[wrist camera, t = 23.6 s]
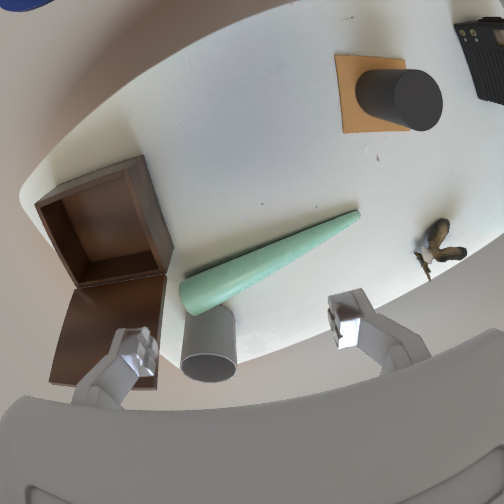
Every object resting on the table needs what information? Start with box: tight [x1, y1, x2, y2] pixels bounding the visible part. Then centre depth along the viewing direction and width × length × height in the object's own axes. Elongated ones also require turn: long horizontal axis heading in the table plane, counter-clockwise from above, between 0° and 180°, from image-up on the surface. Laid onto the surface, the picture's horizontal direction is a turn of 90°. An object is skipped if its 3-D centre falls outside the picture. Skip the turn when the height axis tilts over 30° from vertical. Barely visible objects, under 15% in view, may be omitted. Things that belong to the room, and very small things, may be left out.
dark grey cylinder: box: [355, 69, 443, 131], centre depth 23 cm, size 6×6×9 cm
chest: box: [34, 155, 174, 289], centre depth 31 cm, size 14×15×6 cm
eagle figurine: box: [414, 219, 467, 281], centre depth 38 cm, size 8×7×9 cm
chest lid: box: [49, 274, 167, 390], centre depth 27 cm, size 14×15×1 cm
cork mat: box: [334, 55, 410, 133], centre depth 27 cm, size 10×10×1 cm
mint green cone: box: [179, 211, 361, 316], centre depth 37 cm, size 5×6×27 cm
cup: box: [180, 305, 237, 383], centre depth 42 cm, size 8×8×10 cm
